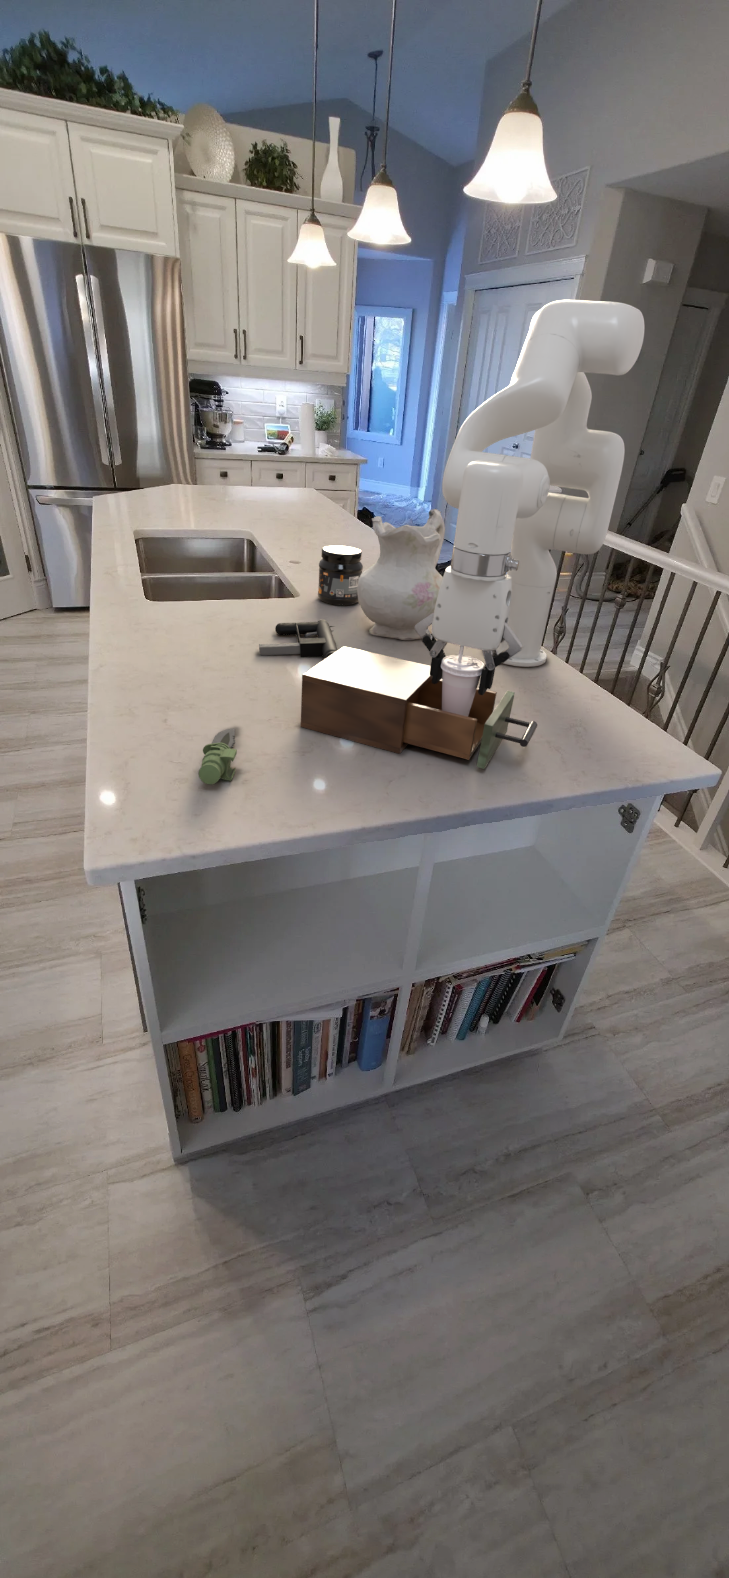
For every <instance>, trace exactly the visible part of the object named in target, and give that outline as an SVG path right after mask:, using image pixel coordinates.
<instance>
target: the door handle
mask: <svg viewBox="0 0 729 1578" xmlns="http://www.w3.org/2000/svg"><path fill="white" fill-rule="evenodd" d="M334 627H335V628H336V626H335V625H333V626H332V625H330V624H329V621H328V620H325V619H318V620H317V621H302V622H301V621H300V622H299V621H298V622H278V623H277V624H276V625H275V627H274V630H275V633H276V634H277V635H278V636H283V637H284V636H296V639H297V640H296V641H297V642H283V643H259V644H258V651H259V656H280V655H299V657H300V658H319V657H320V658H321V657H323V660H324V659H326V658H327V657H329V656H330V655H332V654H333V653H335V652H336V651H337V650H339V649H338V645H337V643H336V641H335V637H334V635H333V631H332V629H331V628H334ZM301 636H303V637H304V638H301ZM313 636H317V637H313Z"/></svg>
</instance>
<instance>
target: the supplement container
mask: <svg viewBox="0 0 729 1578" xmlns="http://www.w3.org/2000/svg"><path fill="white" fill-rule="evenodd" d="M320 553H321V559H320V561H319V562H318V587H317V588H318V590H317V597H318V599H319V600H320V601H321V602H323V603H326V604H329V605H333V606H351V605H355V604H357V603H359V601H358V593H357V586H358V581H359V577H360V575H361V574H362V572H363V571H364V565H363V564H362V562H361V561H362V558H363V557H362V555H363V551H362V550H361V549H360V548H357V547H354V546H351V545H344V544H343V545H342V544H331V545H325V546H323V547H322V548H321V552H320Z"/></svg>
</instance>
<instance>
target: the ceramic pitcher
mask: <svg viewBox="0 0 729 1578" xmlns="http://www.w3.org/2000/svg"><path fill="white" fill-rule="evenodd" d="M441 513H442V511H440V509H438V508H431V509H430V510H429V511H428V519H427V521H426V523H425V524H424V525H423V526H416V525H415V526H414V525H410V524H405V525H401V526H399V527H395V526H394V525H392V524H391V523H389V522H387V521H385V522H383V518H382V516H380V515H379V516H375V517H373V518H371V521H372V528H373V532H374V533H375V535H376V537H377V539H378V544H379V557H378V559H377V561H376V562H375V563H374V564H372V565H371V566H370V567H368V568H366V569H365V570H363V571H362V574H361V575H360V577H359V581H358V586H357V593H358V604H359V606H360V608H361V610H362V612H363V614H364V616H366V617H367V619H369V620H370V621H371V622H373V623H374V625H373V626H372V627H371V628H370V629H369V630H368V631H369V634H370V635H373V636H377V637H386V638H392V639H397V640H401V641H414V640H422V638H420V636H419V635H418V633H417V632H416V630H415V625H416V624H417V623H419V622H420V621H422V620H423V619H424V618H426V617H427V616H429V615H430V614H432V613H433V612H434V610H435V605H436V601H437V597H438V593H439V589H440V585H441V582H442V579H443V575H442V574H440V572H439V571H438V570H437V569H436V566H437V565H438V562H439V560H440V556H441V552H442V548H443V544H444V541H445V533H446V526H445V521H444V518H443V516H442V515H441Z"/></svg>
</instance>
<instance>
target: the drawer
mask: <svg viewBox="0 0 729 1578" xmlns="http://www.w3.org/2000/svg"><path fill="white" fill-rule="evenodd" d="M478 690H479V687H477V689H476V693H475V696H474V699H473V702H472V705H471V709H470V712H469V715H468V717H467V716H463V715H459V714H455V713H451V712H447V711H443V710H442V679H441V680H440V681H439V682H438V683H437V684H432V679H431V680H430V681H429V682H428V683H427V684H426V685H425V686H424V687H423V688H422V689H421V690H420V691H419V692H418V693H417V694H416V695H415V696H414V697H413V698H412V699H411V700H410V701H409V702H408V703H407V711H406V720H405V728H404V737H403V742H404V743H408V745H411V746H415V747H420V748H423V749H426V750H431V751H435V752H438V753H442V754H445V755H449V756H453V757H455V758H456V757H457V758H460V759H465V760H468V761H469V760H470V759H471V757H472V756H473V755H474V753H475V752H476V750H477V749H478V747H479V745H480V747H479V752H478V757H477V762H476V768H479V769H482V770H485V769H486V768H487V766H488V764H489V762H490V760H492V757H493V756H494V754H495V752H496V751H497V749H498V748H499V746H500V744H501V742H502V741H503V740H505V741H509V742H511V743H512V742H513V743H516V744H519V745H520V746H521V747H522V748H526V747H528V746H529V743H530V741H531V740H532V738H533V735H534V734H535V732H536V729H537V728H538V723H537V721H535V720H531V721H530V722H529V721H525V720H521V719H517V718H513V717H511V714H512V708H513V704H514V699H515V695H516V692H514V691H510V690H506V692H505V694H504V695H503V697H502V698H501V699H500V701H499V702H498V704H497V705H495V704H496V698H497V693H498V692H497V691H495V690H491V689H487V690H486V692H485V693H484V694H483V695H479V694H478ZM509 724H513V725H518V726H521V727H525V728H526V729H525V731H524V733H523V734H522V737H517V736H513V735H511V734H510V735H509V734H507V732H508V729H509Z"/></svg>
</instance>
